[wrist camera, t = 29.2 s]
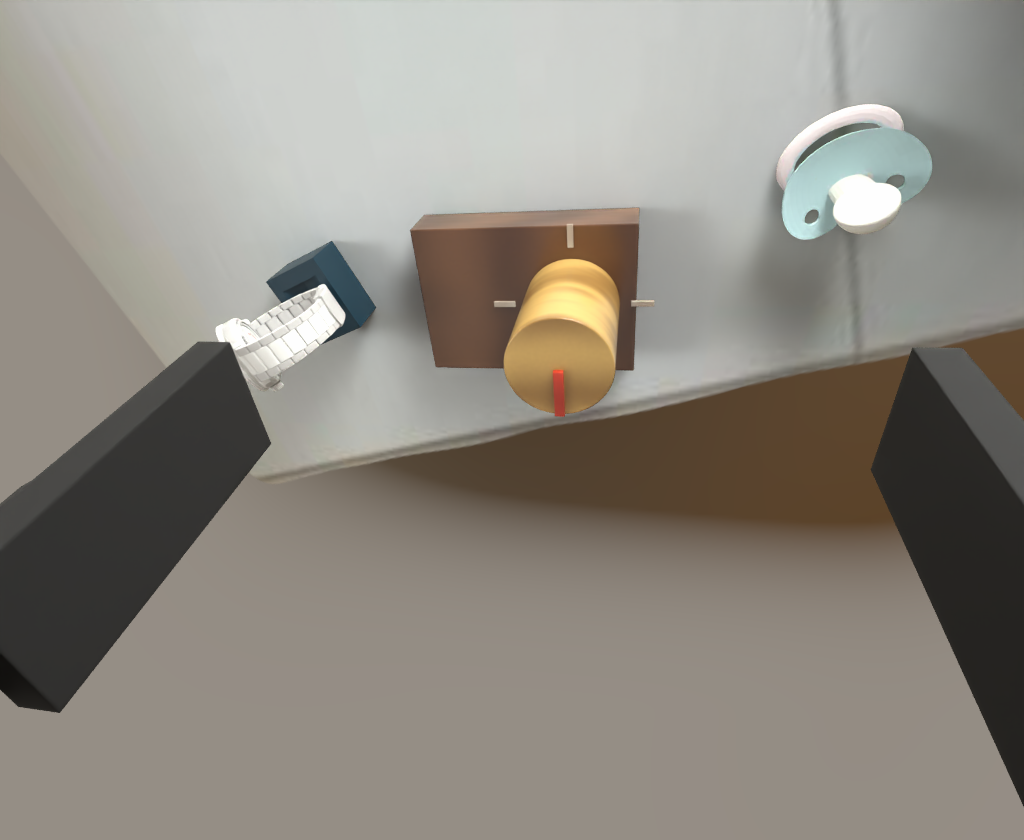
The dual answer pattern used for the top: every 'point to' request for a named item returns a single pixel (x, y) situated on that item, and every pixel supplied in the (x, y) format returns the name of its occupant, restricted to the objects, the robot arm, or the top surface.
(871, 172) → the pacifier
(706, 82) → the top surface
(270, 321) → the watch
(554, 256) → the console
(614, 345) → the dial
